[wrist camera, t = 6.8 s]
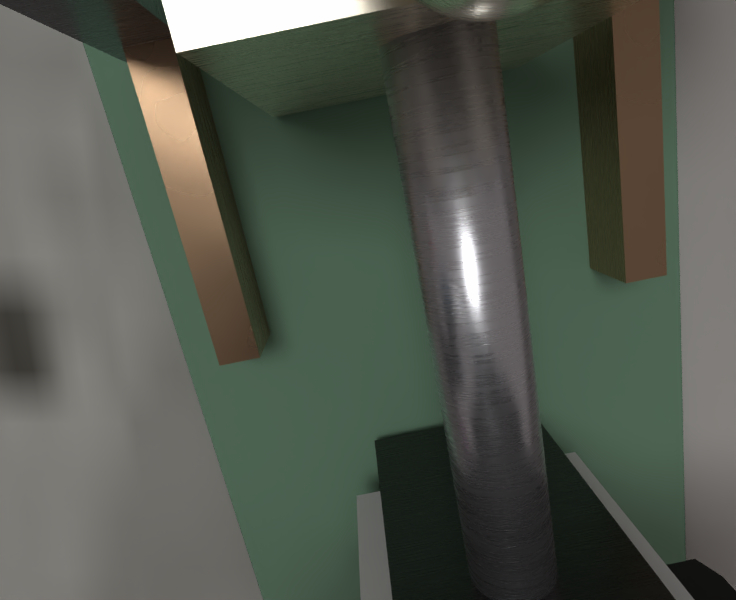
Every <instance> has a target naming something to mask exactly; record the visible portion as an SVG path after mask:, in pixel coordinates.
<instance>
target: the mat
mask: <svg viewBox="0 0 736 600" xmlns="http://www.w3.org/2000/svg"><path fill="white" fill-rule="evenodd" d="M659 15H660V50H661V85H662V120H663V156H664V191H665V226H666V261H667V275H665V276H660V277H655V278H650V279H645V280H640V281H635V282H630V283H624V282H622V281H619V280H617V279H614V278H612V277H610V276H607V275H605V274H603V273H600V272H598V271H596V270H593V269H591V268H590V264H589V250H588V236H587V222H586V209H585V195H584V181H583V168H582V154H581V140H580V126H579V113H578V99H577V85H576V72H575V58H574V44H573V38H571V39H569V40H567V41H565V42H564V43H562V44H560V45H558V46H556V47H555V48H553V49H551V50H549V51H547V52H545V53H544V54H542V55H540V56H538V57H536V58H534V59H533V60H531V61H529V62H527V63H525V64H524V65H522V66H520V67H517V68H512V69H508V70H503V71H502V77H503V86H504V95H505V104H506V113H507V122H508V131H509V140H510V149H511V158H512V167H513V176H514V185H515V194H516V203H517V212H518V221H519V230H520V239H521V248H522V257H523V266H524V275H525V284H526V293H527V302H528V311H529V320H530V329H531V338H532V347H533V356H534V365H535V374H536V383H537V392H538V401H539V410H540V419H541V424H542V425H543V426H544V427H545V429H546V430H547V431H548V433H549V434H550V435H551V437H552V438H553V439H554V441H555V442H556V443H557V445H558V446H559V447H560V448H561V450H562V451H563V452H564V454H567V453H572V452H575V453H576V454H577V455H578V456H579V458H580V459H581V460H582V461H583V463H584V464H585V465H586V466H587V467H588V469H589V470H590V471H591V472H592V474H593V475H594V476H595V477H596V479H597V480H598V481H599V482H600V484H601V485H602V486H603V487H604V488H605V490H606V491H607V492H608V493H609V495H610V496H611V497H612V498H613V500H614V501H615V502H616V503H617V505H618V506H619V507H620V508H621V510H622V511H623V512H624V513H625V514H626V516H627V517H628V518H629V519H630V521H631V522H632V523H633V524H634V526H635V527H636V528H637V529H638V531H639V532H640V533H641V534H642V535H643V537H644V538H645V539H646V540H647V542H648V543H649V544H650V545H651V547H652V548H653V549H654V550H655V552H656V553H657V554H658V555H659V557H660V558H661V559H662V560H663V561H664V563H665V564H666V565H667V564H672V563H677V562H682V561H686V551H685V504H684V456H683V408H682V361H681V313H680V265H679V218H678V170H677V122H676V75H675V27H674V0H659ZM83 45H84V48H85V51H86V54H87V57H88V60H89V63H90V66H91V69H92V72H93V75H94V79H95V82H96V85H97V88H98V91H99V94H100V97H101V100H102V103H103V106H104V109H105V112H106V116H107V119H108V122H109V125H110V128H111V131H112V134H113V137H114V140H115V143H116V146H117V150H118V153H119V156H120V159H121V162H122V165H123V168H124V171H125V174H126V177H127V180H128V183H129V187H130V190H131V193H132V196H133V199H134V202H135V205H136V208H137V211H138V214H139V217H140V220H141V224H142V227H143V230H144V233H145V236H146V239H147V242H148V245H149V248H150V251H151V254H152V258H153V261H154V264H155V267H156V270H157V273H158V276H159V279H160V282H161V285H162V288H163V291H164V295H165V298H166V301H167V304H168V307H169V310H170V313H171V316H172V319H173V322H174V325H175V329H176V332H177V335H178V338H179V341H180V344H181V347H182V350H183V353H184V356H185V359H186V362H187V366H188V369H189V372H190V375H191V378H192V381H193V384H194V387H195V390H196V393H197V396H198V399H199V403H200V406H201V409H202V412H203V415H204V418H205V421H206V424H207V427H208V430H209V433H210V437H211V440H212V443H213V446H214V449H215V452H216V455H217V458H218V461H219V464H220V467H221V470H222V474H223V477H224V480H225V483H226V486H227V489H228V492H229V495H230V498H231V501H232V504H233V508H234V511H235V514H236V517H237V520H238V523H239V526H240V529H241V532H242V535H243V538H244V541H245V545H246V548H247V551H248V554H249V557H250V560H251V563H252V566H253V569H254V572H255V575H256V578H257V582H258V585H259V588H260V591H261V594H262V597H263V600H361V597H360V572H359V547H358V522H357V496H358V495H363V494H368V493H372V492H377V491H380V485H379V476H378V468H377V459H376V450H375V441H374V440H379V439H384V438H389V437H394V436H399V435H404V434H409V433H414V432H419V431H424V430H429V429H434V428H439V427H444V424H443V418H442V413H441V407H440V401H439V395H438V390H437V384H436V378H435V372H434V367H433V361H432V355H431V349H430V343H429V338H428V332H427V326H426V320H425V315H424V309H423V303H422V297H421V292H420V286H419V280H418V274H417V268H416V263H415V257H414V251H413V245H412V240H411V234H410V228H409V222H408V216H407V211H406V205H405V199H404V193H403V188H402V182H401V176H400V170H399V165H398V159H397V153H396V147H395V141H394V136H393V130H392V124H391V118H390V113H389V107H388V101H387V95H381V96H376V97H372V98H367V99H362V100H357V101H352V102H347V103H342V104H338V105H333V106H328V107H323V108H318V109H313V110H308V111H304V112H299V113H294V114H289V115H284V116H279V117H272V116H271V115H269V114H268V113H266V112H265V111H263V110H262V109H260V108H259V107H257V106H256V105H254V104H253V103H251V102H250V101H248V100H247V99H245V98H244V97H242V96H241V95H239V94H238V93H236V92H235V91H233V90H232V89H230V88H229V87H227V86H226V85H224V84H223V83H221V82H220V81H218V80H217V79H215V78H214V77H212V76H211V75H209V74H208V73H206V72H205V71H203V70H202V69H200V71H201V74H202V78H203V82H204V86H205V89H206V93H207V97H208V101H209V104H210V108H211V112H212V116H213V119H214V123H215V127H216V130H217V134H218V138H219V142H220V145H221V149H222V153H223V157H224V160H225V164H226V168H227V172H228V175H229V179H230V183H231V187H232V190H233V194H234V198H235V201H236V205H237V209H238V213H239V216H240V220H241V224H242V228H243V231H244V235H245V239H246V243H247V246H248V250H249V254H250V257H251V261H252V265H253V269H254V272H255V276H256V280H257V284H258V287H259V291H260V295H261V299H262V302H263V306H264V310H265V314H266V317H267V321H268V325H269V328H270V332H271V333H270V336H269V338H268V340H267V343H266V345H265V347H264V350H263V352H262V354H261V357H260V358H256V359H251V360H246V361H241V362H236V363H231V364H226V365H221V366H220V365H219V362H218V359H217V356H216V352H215V349H214V346H213V342H212V339H211V336H210V333H209V329H208V326H207V323H206V319H205V316H204V313H203V310H202V306H201V303H200V300H199V296H198V293H197V290H196V287H195V283H194V280H193V277H192V273H191V270H190V267H189V264H188V260H187V257H186V254H185V250H184V247H183V244H182V241H181V237H180V234H179V231H178V227H177V224H176V221H175V218H174V214H173V211H172V208H171V204H170V201H169V198H168V195H167V191H166V188H165V185H164V181H163V178H162V175H161V172H160V168H159V165H158V162H157V158H156V155H155V152H154V149H153V145H152V142H151V139H150V135H149V132H148V129H147V126H146V122H145V119H144V116H143V112H142V109H141V106H140V103H139V99H138V96H137V93H136V89H135V86H134V83H133V80H132V76H131V73H130V70H129V66H128V63H126V62H124V61H122V60H120V59H117V58H115V57H113V56H111V55H109V54H107V53H104V52H102V51H100V50H98V49H96V48H94V47H92V46H89V45H87V44H85V43H83Z"/></svg>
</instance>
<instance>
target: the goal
mask: <svg viewBox="0 0 736 600" xmlns="http://www.w3.org/2000/svg"><path fill="white" fill-rule="evenodd" d="M0 4H1V5H3V6H5V7H8V8H10V9H12V10H14V11H16V12H18V13H21V14H23V15H25V16H27V17H29V18H31V19H33V20H36V21H38V22H40V23H42V24H44V25H46V26H49V27H51V28H53V29H55V30H57V31H59V32H61V33H64V34H66V35H68V36H70V37H72V38H74V39H77V40H79V41H81V42H83V43H85V44H87V45H89V46H92V47H94V48H96V49H98V50H100V51H102V52H104V53H107V54H109V55H111V56H113V57H115V58H117V59H120V60H122V61H124V62H126V63H128V66H129V70H130V73H131V76H132V80H133V83H134V86H135V89H136V93H137V96H138V99H139V103H140V106H141V109H142V112H143V116H144V119H145V122H146V126H147V129H148V132H149V135H150V139H151V142H152V145H153V149H154V152H155V155H156V158H157V162H158V165H159V168H160V172H161V175H162V178H163V181H164V185H165V188H166V191H167V195H168V198H169V201H170V204H171V208H172V211H173V214H174V218H175V221H176V224H177V227H178V231H179V234H180V237H181V241H182V244H183V247H184V250H185V254H186V257H187V260H188V264H189V267H190V270H191V273H192V277H193V280H194V283H195V287H196V290H197V293H198V296H199V300H200V303H201V306H202V310H203V313H204V316H205V319H206V323H207V326H208V329H209V333H210V336H211V339H212V342H213V346H214V349H215V352H216V356H217V359H218V362H219V365H220V366H221V365H226V364H231V363H236V362H241V361H246V360H251V359H256V358H260V357H261V354H262V352H263V350H264V347H265V345H266V343H267V340H268V338H269V336H270V333H271V332H270V328H269V325H268V321H267V317H266V314H265V310H264V306H263V302H262V299H261V295H260V291H259V287H258V284H257V280H256V276H255V272H254V269H253V265H252V261H251V257H250V254H249V250H248V246H247V243H246V239H245V235H244V231H243V228H242V224H241V220H240V216H239V213H238V209H237V205H236V201H235V198H234V194H233V190H232V187H231V183H230V179H229V175H228V172H227V168H226V164H225V160H224V157H223V153H222V149H221V145H220V142H219V138H218V134H217V130H216V127H215V123H214V119H213V116H212V112H211V108H210V104H209V101H208V97H207V93H206V89H205V86H204V82H203V78H202V74H201V71H200V68H199V67H197V66H196V65H194V64H193V63H191V62H190V61H188V60H187V59H185V58H184V57H182V56H181V55H179V54H178V53H176V50H175V47H174V43H173V39H172V36H171V32H170V29H169V25H168V21H167V18H166V14H165V11H164V7H163V3H162V0H0ZM573 44H574V58H575V72H576V85H577V99H578V113H579V126H580V140H581V154H582V168H583V181H584V195H585V209H586V222H587V236H588V250H589V264H590V268H591V269H593V270H596V271H598V272H600V273H603V274H605V275H607V276H610V277H612V278H614V279H617V280H619V281H622V282H624V283H630V282H635V281H640V280H645V279H650V278H655V277H660V276H665V275H667V261H666V226H665V191H664V156H663V120H662V85H661V50H660V15H659V0H640V1H638V2H637V3H635V4H633V5H631V6H629V7H627V8H626V9H624V10H622V11H620V12H618V13H617V14H615V15H613V16H611V17H609V18H607V19H606V20H604V21H602V22H600V23H598V24H596V25H595V26H593V27H591V28H589V29H587V30H586V31H584V32H582V33H580V34H578V35H576V36H575V37H573Z"/></svg>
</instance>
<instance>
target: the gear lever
mask: <svg viewBox="0 0 736 600" xmlns="http://www.w3.org/2000/svg"><path fill="white" fill-rule="evenodd" d="M638 1H640V0H162V3H163V7H164V11H165V14H166V18H167V21H168V25H169V29H170V32H171V36H172V39H173V43H174V47H175V50H176V53H178V54H179V55H181V56H182V57H184V58H185V59H187V60H188V61H190V62H191V63H193V64H194V65H196V66H197V67H199V68H200V69H202V70H203V71H205V72H206V73H208V74H209V75H211V76H212V77H214V78H215V79H217V80H218V81H220V82H221V83H223V84H224V85H226V86H227V87H229V88H230V89H232V90H233V91H235V92H236V93H238V94H239V95H241V96H242V97H244V98H245V99H247V100H248V101H250V102H251V103H253V104H254V105H256V106H257V107H259V108H260V109H262V110H263V111H265V112H266V113H268V114H269V115H271V116H272V117H279V116H284V115H289V114H294V113H299V112H304V111H308V110H313V109H318V108H323V107H328V106H333V105H338V104H342V103H347V102H352V101H357V100H362V99H367V98H372V97H376V96H381V95H387V101H388V107H389V113H390V118H391V124H392V130H393V136H394V141H395V147H396V153H397V159H398V165H399V170H400V176H401V182H402V188H403V193H404V199H405V205H406V211H407V216H408V222H409V228H410V234H411V240H412V245H413V251H414V257H415V263H416V268H417V274H418V280H419V286H420V292H421V297H422V303H423V309H424V315H425V320H426V326H427V332H428V338H429V343H430V349H431V355H432V361H433V367H434V372H435V378H436V384H437V390H438V395H439V401H440V407H441V413H442V418H443V424H444V427H439V428H434V429H429V430H424V431H419V432H414V433H409V434H404V435H399V436H394V437H389V438H384V439H379V440H374V441H375V450H376V459H377V468H378V476H379V485H380V494H381V503H382V512H383V521H384V530H385V539H386V547H387V556H388V565H389V574H390V583H391V592H392V600H676V599H675V598H674V597H673V595H672V594H671V593H670V591H669V590H668V589H667V588H666V586H665V585H664V584H663V582H662V581H661V580H660V578H659V577H658V576H657V574H656V573H655V572H654V570H653V569H652V568H651V567H650V565H649V564H648V563H647V561H646V560H645V559H644V557H643V556H642V555H641V553H640V552H639V551H638V549H637V548H636V547H635V546H634V544H633V543H632V542H631V540H630V539H629V538H628V536H627V535H626V534H625V532H624V531H623V530H622V529H621V527H620V526H619V525H618V523H617V522H616V521H615V519H614V518H613V517H612V515H611V514H610V513H609V511H608V510H607V509H606V508H605V506H604V505H603V504H602V502H601V501H600V500H599V498H598V497H597V496H596V494H595V493H594V492H593V490H592V489H591V488H590V487H589V485H588V484H587V483H586V481H585V480H584V479H583V477H582V476H581V475H580V473H579V472H578V471H577V469H576V468H575V467H574V466H573V464H572V463H571V462H570V460H569V459H568V458H567V456H566V455H565V454H564V452H563V451H562V450H561V448H560V447H559V446H558V445H557V443H556V442H555V441H554V439H553V438H552V437H551V435H550V434H549V433H548V431H547V430H546V429H545V427H544V426H543V425H542V424H541V419H540V410H539V401H538V392H537V383H536V374H535V365H534V356H533V347H532V338H531V329H530V320H529V311H528V302H527V293H526V284H525V275H524V266H523V257H522V248H521V239H520V230H519V221H518V212H517V203H516V194H515V185H514V176H513V167H512V158H511V149H510V140H509V131H508V122H507V113H506V104H505V95H504V86H503V77H502V71H503V70H508V69H512V68H517V67H520V66H522V65H524V64H525V63H527V62H529V61H531V60H533V59H534V58H536V57H538V56H540V55H542V54H544V53H545V52H547V51H549V50H551V49H553V48H555V47H556V46H558V45H560V44H562V43H564V42H565V41H567V40H569V39H571V38H573V37H575V36H576V35H578V34H580V33H582V32H584V31H586V30H587V29H589V28H591V27H593V26H595V25H596V24H598V23H600V22H602V21H604V20H606V19H607V18H609V17H611V16H613V15H615V14H617V13H618V12H620V11H622V10H624V9H626V8H627V7H629V6H631V5H633V4H635V3H637V2H638Z"/></svg>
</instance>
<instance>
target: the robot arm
mask: <svg viewBox="0 0 736 600" xmlns="http://www.w3.org/2000/svg"><path fill="white" fill-rule="evenodd" d="M565 455H566V456H567V458H568V459H569V460H570V462H571V463H572V464H573V466H574V467H575V468H576V469H577V471H578V472H579V473H580V475H581V476H582V477H583V479H584V480H585V481H586V483H587V484H588V485H589V487H590V488H591V489H592V490H593V492H594V493H595V494H596V496H597V497H598V498H599V500H600V501H601V502H602V504H603V505H604V506H605V508H606V509H607V510H608V511H609V513H610V514H611V515H612V517H613V518H614V519H615V521H616V522H617V523H618V525H619V526H620V527H621V529H622V530H623V531H624V532H625V534H626V535H627V536H628V538H629V539H630V540H631V542H632V543H633V544H634V546H635V547H636V548H637V549H638V551H639V552H640V553H641V555H642V556H643V557H644V559H645V560H646V561H647V563H648V564H649V565H650V567H651V568H652V569H653V570H654V572H655V573H656V574H657V576H658V577H659V578H660V580H661V581H662V582H663V584H664V585H665V586H666V588H667V589H668V590H669V591H670V593H671V594H672V595H673V597H674V598H675V599H676V600H736V591H735V590H734V589H733V588H732V587H731V586H730V584H729V583H728V582H727V581H726V580H725V579H724V578H723V577H722V576H721V575H719V574H718V573H716V572H714V571H713V570H711V569H710V568H708V567H707V566H705V565H704V564H702V563H700V562H699V561H697V560H696V559H692V560H687V561H682V562H677V563H672V564H667V565H666V564H665V563H664V561H663V560H662V559H661V558H660V557H659V555H658V554H657V553H656V552H655V550H654V549H653V548H652V547H651V545H650V544H649V543H648V542H647V540H646V539H645V538H644V537H643V535H642V534H641V533H640V532H639V531H638V529H637V528H636V527H635V526H634V524H633V523H632V522H631V521H630V519H629V518H628V517H627V516H626V514H625V513H624V512H623V511H622V510H621V508H620V507H619V506H618V505H617V503H616V502H615V501H614V500H613V498H612V497H611V496H610V495H609V493H608V492H607V491H606V490H605V488H604V487H603V486H602V485H601V484H600V482H599V481H598V480H597V479H596V477H595V476H594V475H593V474H592V472H591V471H590V470H589V469H588V467H587V466H586V465H585V464H584V463H583V461H582V460H581V459H580V458H579V456H578V455H577V454H576V453H575V452H572V453H567V454H565ZM357 522H358V547H359V572H360V597H361V600H392V592H391V583H390V574H389V565H388V556H387V547H386V539H385V530H384V521H383V512H382V503H381V494H380V491H377V492H372V493H368V494H363V495H358V496H357Z"/></svg>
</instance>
